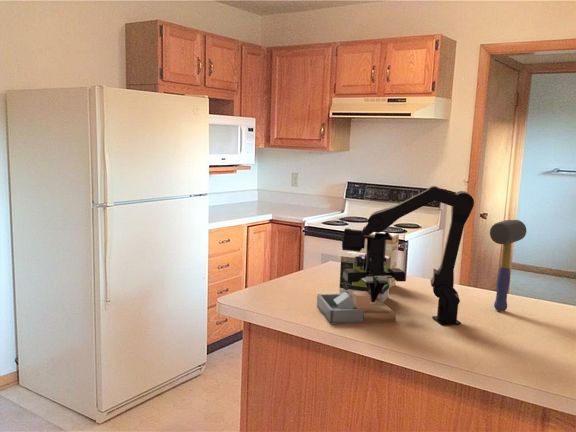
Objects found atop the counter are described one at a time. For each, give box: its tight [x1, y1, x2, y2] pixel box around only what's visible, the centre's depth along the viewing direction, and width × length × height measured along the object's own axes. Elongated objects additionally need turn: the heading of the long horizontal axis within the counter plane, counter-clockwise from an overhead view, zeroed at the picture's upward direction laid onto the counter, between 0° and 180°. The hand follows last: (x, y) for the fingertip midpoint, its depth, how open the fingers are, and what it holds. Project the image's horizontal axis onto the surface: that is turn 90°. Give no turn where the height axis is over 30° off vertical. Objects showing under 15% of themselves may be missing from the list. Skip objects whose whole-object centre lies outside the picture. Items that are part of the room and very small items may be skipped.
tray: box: [316, 293, 364, 325], centre depth 164 cm, size 16×10×4 cm, turn 11°
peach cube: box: [352, 291, 371, 308], centre depth 165 cm, size 4×4×4 cm
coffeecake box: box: [353, 228, 400, 289], centre depth 200 cm, size 15×7×20 cm, turn 58°
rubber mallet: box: [489, 219, 527, 313], centre depth 172 cm, size 12×8×30 cm, turn 133°
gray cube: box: [334, 292, 356, 310], centre depth 164 cm, size 4×4×4 cm
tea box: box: [338, 251, 391, 303], centre depth 182 cm, size 15×10×15 cm, turn 65°
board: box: [351, 298, 397, 324], centre depth 166 cm, size 16×10×2 cm, turn 11°
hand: (372, 301), depth 166 cm, fingers closed
